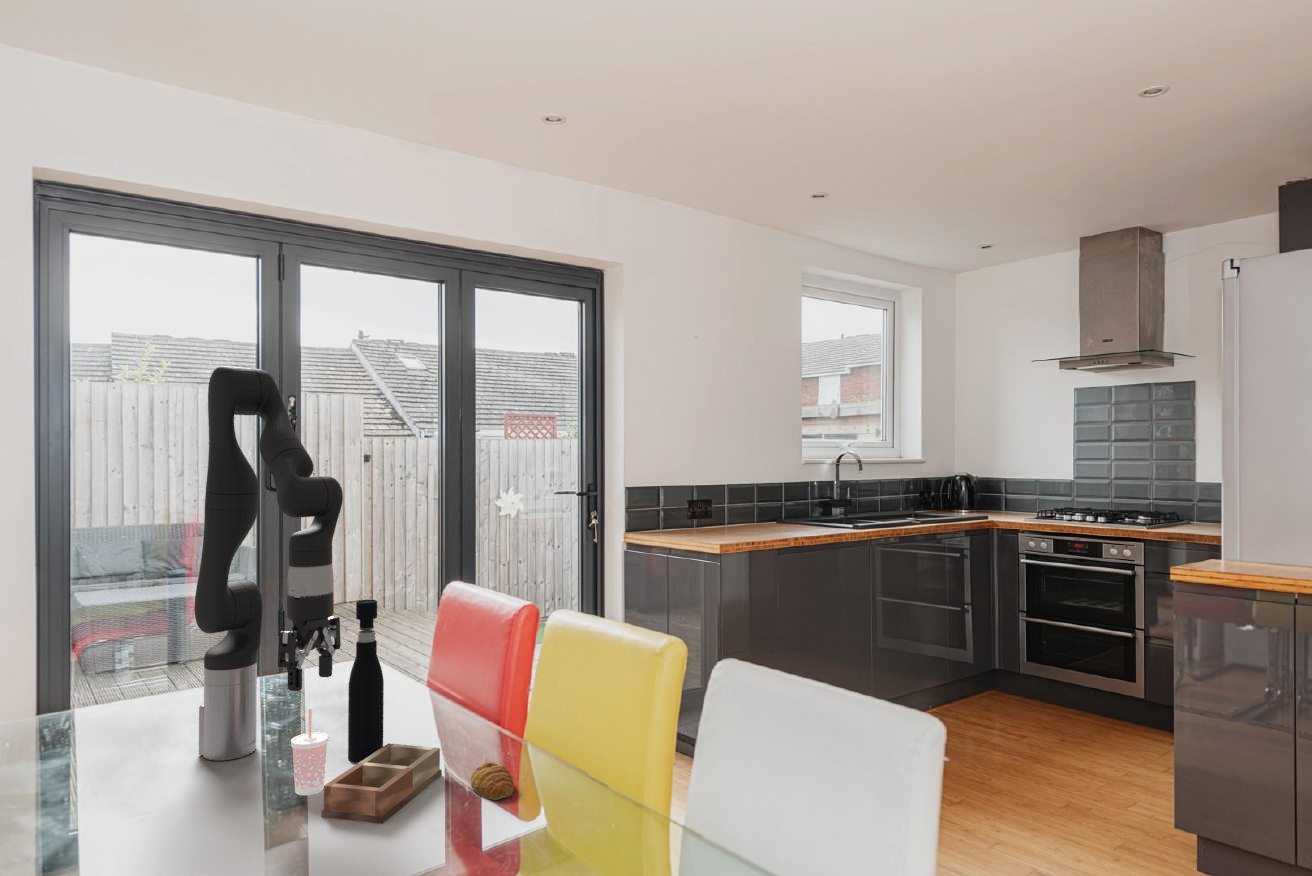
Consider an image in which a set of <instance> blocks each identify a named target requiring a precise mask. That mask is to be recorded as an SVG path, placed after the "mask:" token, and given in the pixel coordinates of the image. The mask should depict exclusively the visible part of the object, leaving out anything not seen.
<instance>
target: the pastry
mask: <svg viewBox="0 0 1312 876" xmlns="http://www.w3.org/2000/svg"><path fill="white" fill-rule="evenodd" d="M470 785H471V788H472V790H473V791H474V792H475V793H476V794H477V795H479V796H480V797H483V798H485V799H487V798H488V799H487V800H493V801H497V800H500V799H503V798H507V797H511V796H512V794H513V792H514V791H515V790H514V789H515V788H514V785H515V784H514V781H513V776H512V774H511V773H510V771H509V770H508V769H507V768H506V767H505V766H504V765H498V763H497V762H496V763H495V762H485V763H483V764H481V766H477V768H476V769H475V770H474V771H473V773H472V775H471V776H470Z"/></svg>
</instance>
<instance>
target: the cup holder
mask: <svg viewBox="0 0 1312 876" xmlns="http://www.w3.org/2000/svg"><path fill="white" fill-rule="evenodd" d="M440 752H441V748H440V747H432V746H423V745H422V746H421V745H411V744H409V745H408V744H401V743H400V744H399V743H387V744H385V745H383V747H382V748H380V749H379V750H377V751H376V752H374V753H373V754H371V755H370V756H368V757H367V758H365V759H364V760H362V761H361V762H359V763H355V765H353V766H351V767H350V768H348V769H347V770H346V771H344V772H343V773H340V774H339V775H338V776H337V777H335V778H334V779H331V780H330V781H329V782H327V783H326V784H324V788H323V809H321V813H320V814H321V815H320V816H321V818H326V819H336V820H345V821H352V822H353V821H354V822H364V823H372V824H381V825H383V824H384V823H386V822H387V821H388V820H389V819H391V818H392V817H393V816H394V815H396V814H397V813H398V812H399V811H400V810H401V809H403V808H404V807H405V806H406V805H408V804H409V803H410V802H411V801H413V800H414V799H415V798H416V797H417V796H419V795H420V794H421V793H422V792H423V791H425V790H426V789H427V788H428V787H429V786H431V785H432V784H433V783H434V782H435V781H437V780H438V779H439V778H441V777H442V774H443V769H441V759H440V758H441V757H440V756H441V753H440Z"/></svg>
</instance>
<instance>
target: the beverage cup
mask: <svg viewBox="0 0 1312 876" xmlns="http://www.w3.org/2000/svg"><path fill="white" fill-rule="evenodd" d="M312 712H313V711H312V708H309V709H308V729H307V730H308V732H307V733H301V734H299V735H296V736H294V737H291V740H290V743H291V744H290V746H291V748H292V760H293V777H294V779H293V780H294V793H295V794H297V795H298V796H311V795H315V794H318V793H320V792H322V791H324V785H325V774H326V772H325V771H326V762H327V761H326V759H327V758H326V757H327V747H328V746H327V744H328V742H329V739H330V736H329V734H327V733H325V732H318V731H317V732H312V715H313V714H312Z"/></svg>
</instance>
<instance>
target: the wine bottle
mask: <svg viewBox="0 0 1312 876" xmlns="http://www.w3.org/2000/svg"><path fill="white" fill-rule="evenodd" d="M377 618H378V600H376V599H361V600H358V601H356V603H355V619H356V620H358V621H359V630H360V631H358V633H357V641H356V643H355V658H354V661H353V663H352V666H351V667H352V668H351V670H350V674H349V680H348V705H347V706H348V710H347V711H348V712H347V713H348V715H347V716H348V718H347V719H348V720H347V722H348V725H347V727H348V728H347V729H348V731H347V732H348V734H347V759H348V761H349V762H351V763H355V764H358V763H359V762H361V761H362V760H364V759H365V758H367V757H368V756H370V755H371V754H373V753H374V752H376V751H377V750H379V749H380V748H382V747H383V746H384V692H385V691H384V682H385V681H384V680H385V679H384V673H383V671H382V666H381V662H380V661H379V658H378V654H377V650H378V648H377V647H378V646H377V643H378V642H377V640H376V638H377V637H376V634H377V633H376V631H375V630H374V620H375V619H377Z"/></svg>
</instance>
